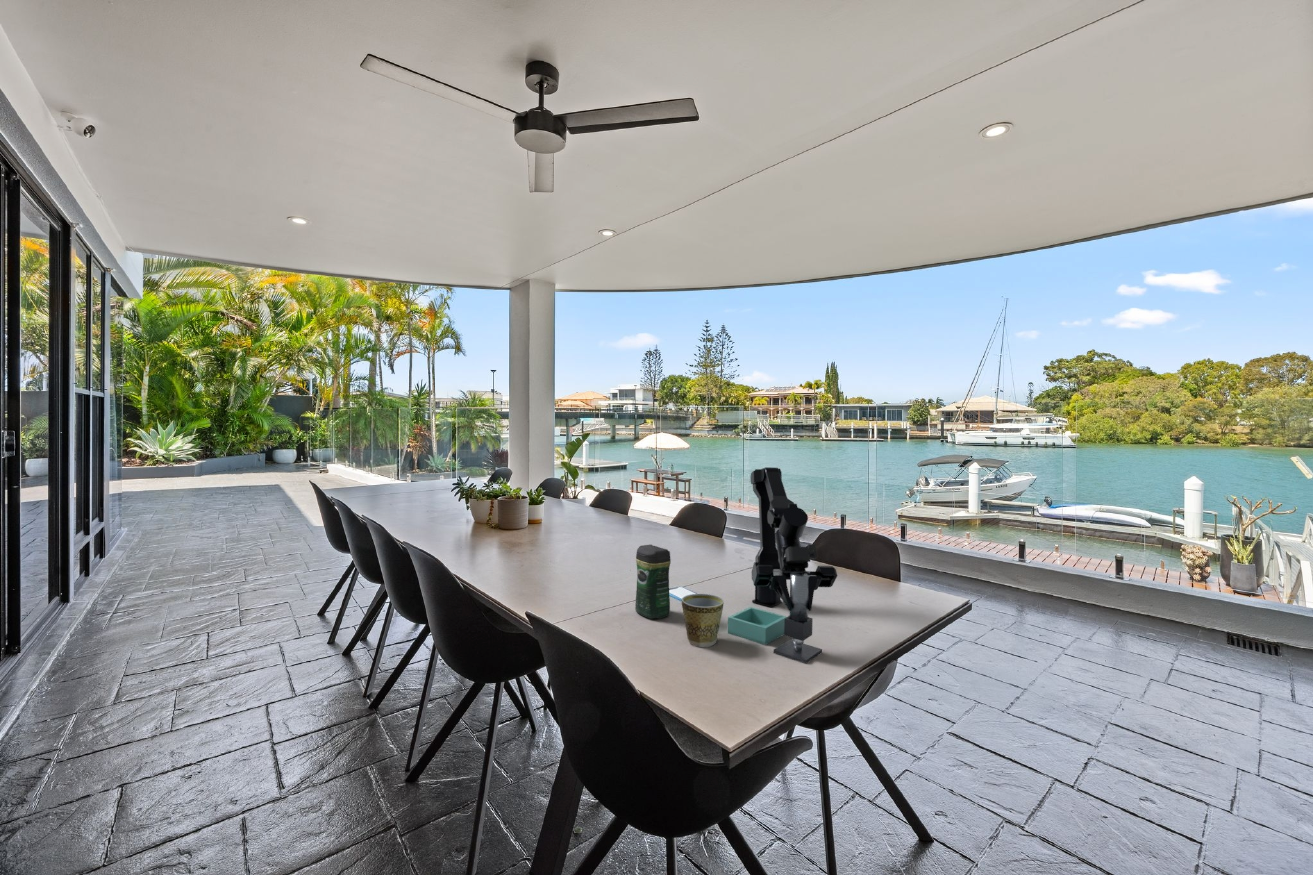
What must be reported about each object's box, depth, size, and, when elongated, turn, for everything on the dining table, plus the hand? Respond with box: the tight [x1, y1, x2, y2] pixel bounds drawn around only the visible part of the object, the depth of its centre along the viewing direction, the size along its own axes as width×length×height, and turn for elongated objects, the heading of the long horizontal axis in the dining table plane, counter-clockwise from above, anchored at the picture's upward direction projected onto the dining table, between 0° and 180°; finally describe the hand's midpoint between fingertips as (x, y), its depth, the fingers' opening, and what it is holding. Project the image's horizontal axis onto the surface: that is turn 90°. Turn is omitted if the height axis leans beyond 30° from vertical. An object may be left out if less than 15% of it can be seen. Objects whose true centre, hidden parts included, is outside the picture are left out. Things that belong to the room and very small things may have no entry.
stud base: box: [773, 638, 823, 665], centre depth 123 cm, size 8×8×4 cm
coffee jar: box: [634, 544, 672, 619], centre depth 147 cm, size 10×8×19 cm
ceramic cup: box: [681, 593, 724, 648], centre depth 130 cm, size 13×10×10 cm
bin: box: [727, 606, 787, 646], centre depth 135 cm, size 11×11×4 cm
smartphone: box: [669, 586, 698, 602], centre depth 162 cm, size 8×1×15 cm
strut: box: [783, 572, 814, 642], centre depth 123 cm, size 5×5×14 cm
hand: (800, 610), depth 122 cm, fingers closed on strut, 4 cm apart
